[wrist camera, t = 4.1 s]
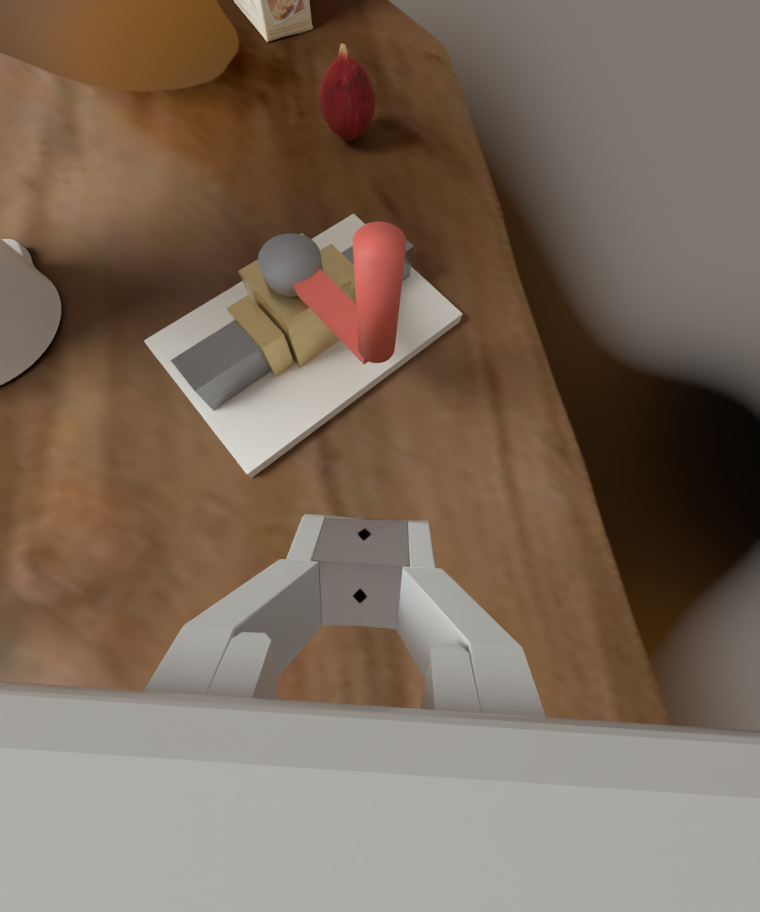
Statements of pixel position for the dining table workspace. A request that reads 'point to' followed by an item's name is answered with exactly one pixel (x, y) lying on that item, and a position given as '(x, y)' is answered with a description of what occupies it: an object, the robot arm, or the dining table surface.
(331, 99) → the onion
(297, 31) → the coffeecake box
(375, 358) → the lever
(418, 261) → the dining table surface
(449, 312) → the mounting board
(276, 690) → the robot arm
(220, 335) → the valve and pipe
